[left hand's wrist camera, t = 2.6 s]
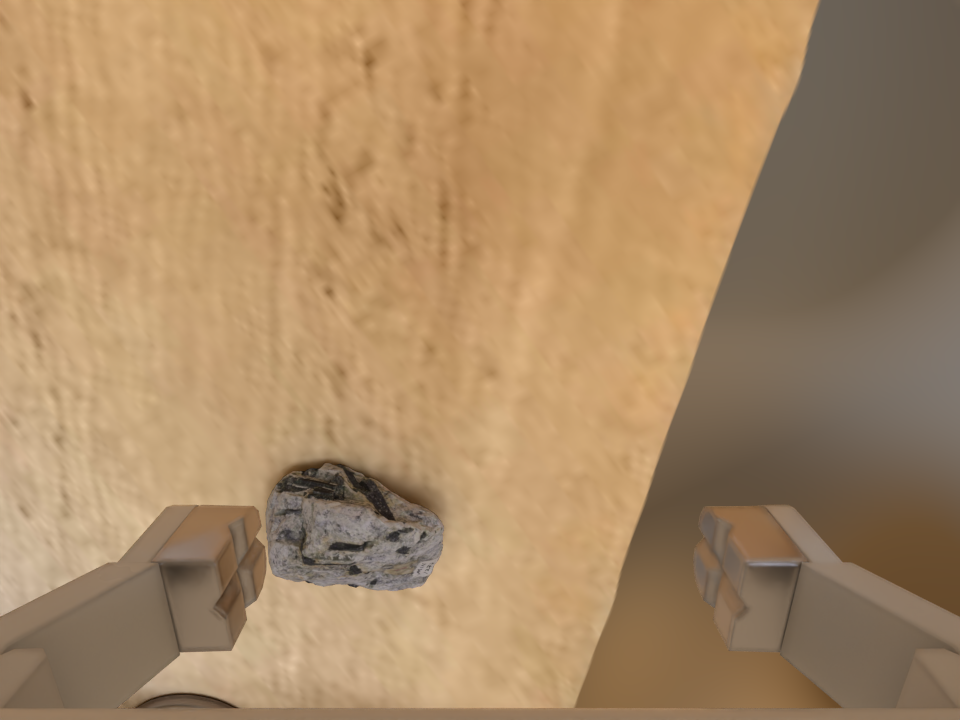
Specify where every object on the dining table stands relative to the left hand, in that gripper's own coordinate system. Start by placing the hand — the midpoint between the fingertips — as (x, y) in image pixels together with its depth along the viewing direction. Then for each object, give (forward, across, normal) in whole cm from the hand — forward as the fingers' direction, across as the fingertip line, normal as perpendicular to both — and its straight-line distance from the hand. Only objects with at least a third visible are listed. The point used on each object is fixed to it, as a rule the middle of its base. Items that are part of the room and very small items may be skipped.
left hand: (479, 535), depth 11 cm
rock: (+33, +10, +23) cm, 42 cm away
